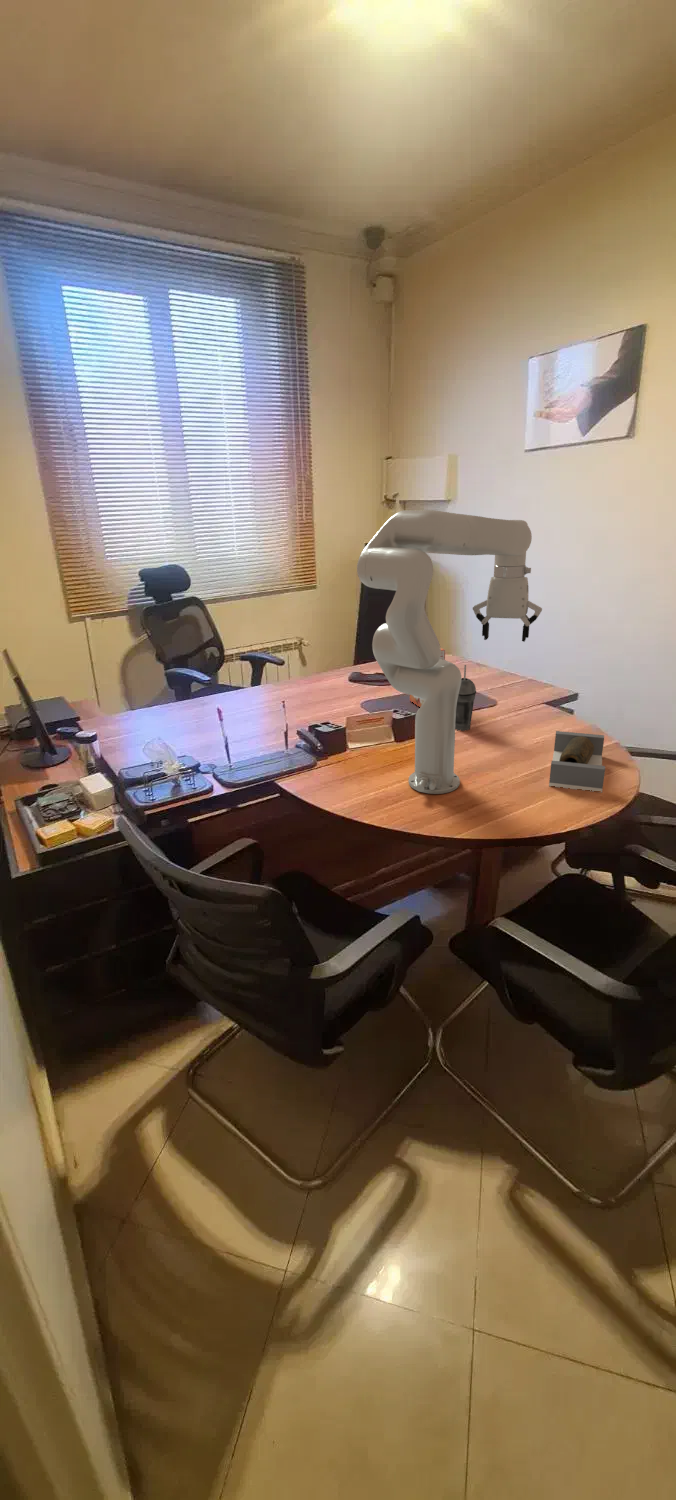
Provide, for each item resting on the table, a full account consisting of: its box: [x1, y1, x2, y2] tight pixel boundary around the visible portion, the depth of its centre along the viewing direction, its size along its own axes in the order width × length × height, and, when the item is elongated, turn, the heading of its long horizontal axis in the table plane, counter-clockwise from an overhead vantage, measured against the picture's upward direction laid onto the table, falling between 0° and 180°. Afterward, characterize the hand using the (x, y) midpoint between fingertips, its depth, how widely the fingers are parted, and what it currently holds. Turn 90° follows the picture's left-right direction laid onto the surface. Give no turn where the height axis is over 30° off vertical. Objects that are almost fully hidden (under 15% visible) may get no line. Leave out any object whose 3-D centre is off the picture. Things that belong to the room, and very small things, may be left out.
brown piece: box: [559, 736, 594, 764], centre depth 158 cm, size 15×7×7 cm, turn 153°
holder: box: [548, 730, 606, 793], centre depth 159 cm, size 22×12×6 cm, turn 159°
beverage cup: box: [455, 664, 477, 732], centre depth 186 cm, size 7×7×20 cm
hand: (504, 639), depth 164 cm, fingers open, 9 cm apart
